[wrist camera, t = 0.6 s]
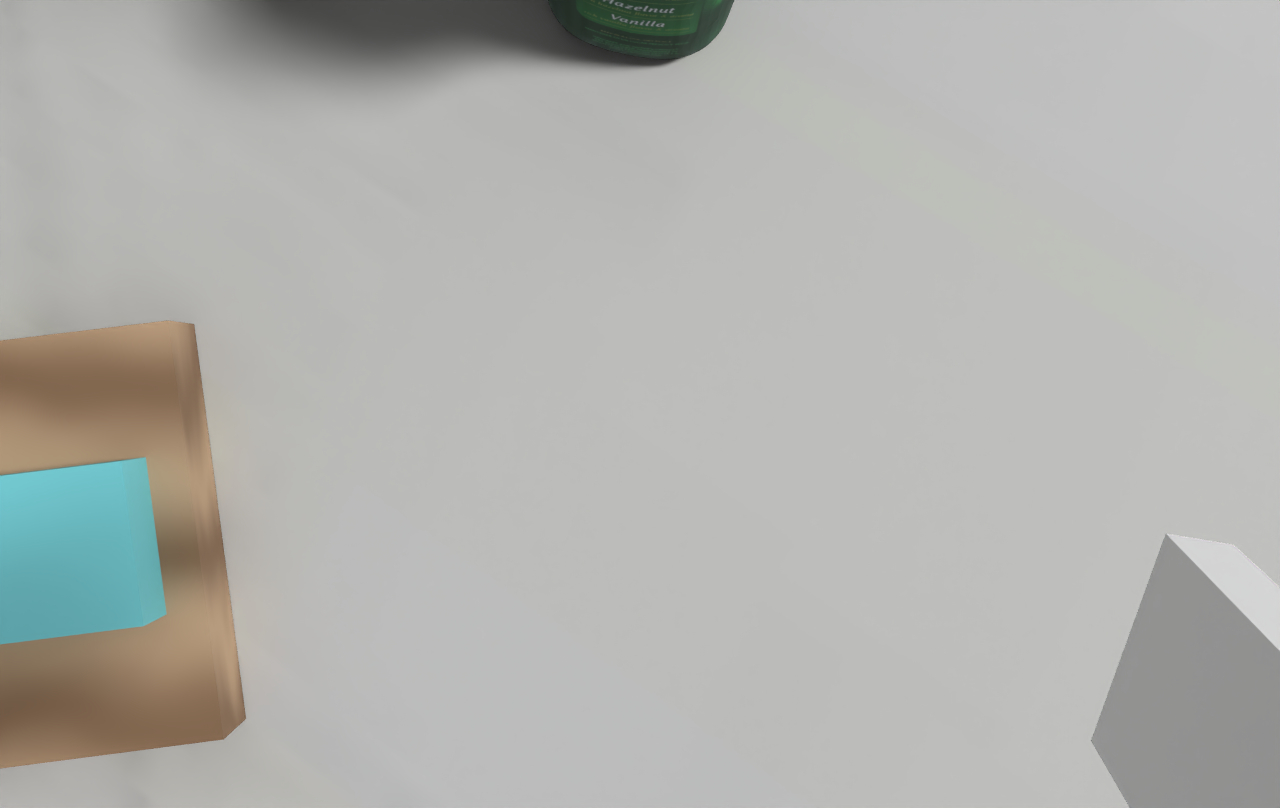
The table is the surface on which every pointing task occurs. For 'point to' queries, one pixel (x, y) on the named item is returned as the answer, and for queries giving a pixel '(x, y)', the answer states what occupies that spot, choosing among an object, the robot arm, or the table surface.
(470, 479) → the table surface
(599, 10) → the coffee jar
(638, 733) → the table surface
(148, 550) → the turquoise flat block
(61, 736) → the wooden board
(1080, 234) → the table surface
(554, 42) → the table surface
